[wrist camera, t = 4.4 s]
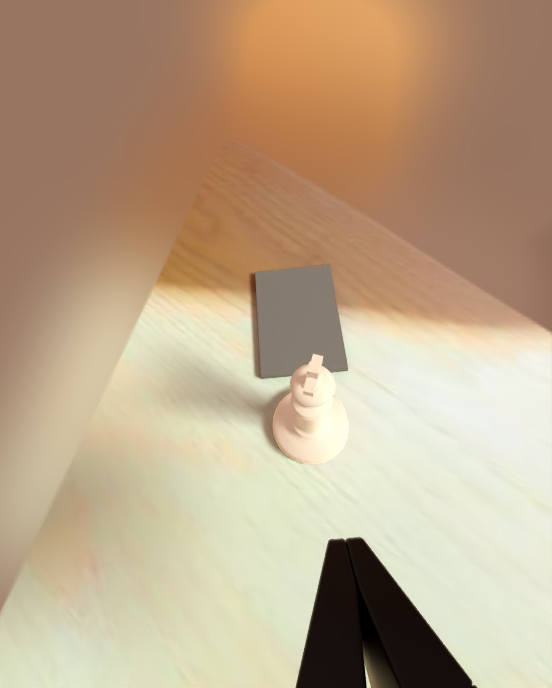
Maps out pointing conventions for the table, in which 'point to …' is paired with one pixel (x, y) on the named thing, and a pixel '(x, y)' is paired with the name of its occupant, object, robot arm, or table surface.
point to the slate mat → (298, 320)
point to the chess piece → (311, 416)
